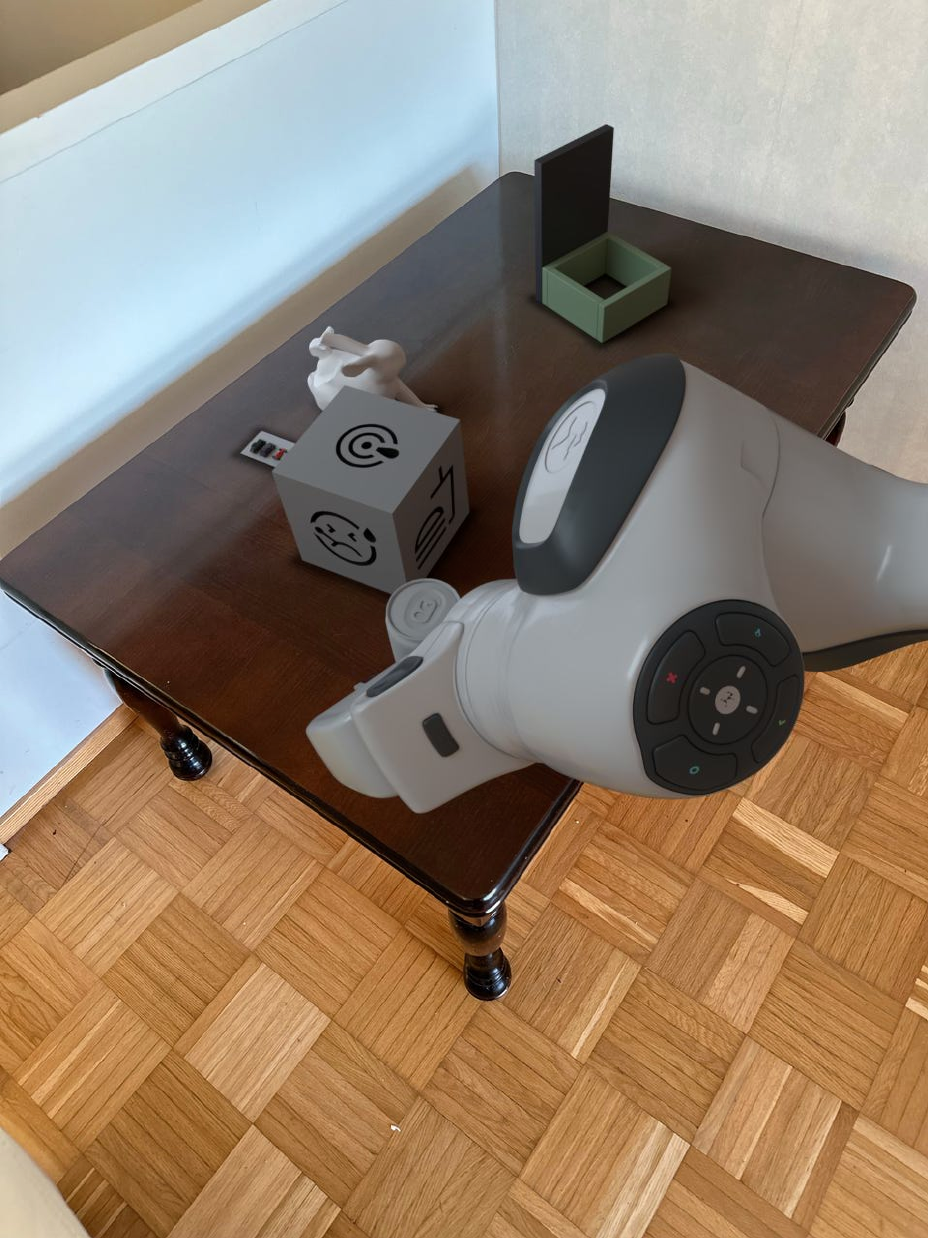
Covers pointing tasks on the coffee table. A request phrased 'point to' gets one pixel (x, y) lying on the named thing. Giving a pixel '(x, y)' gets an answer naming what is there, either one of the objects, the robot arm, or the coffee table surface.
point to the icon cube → (375, 489)
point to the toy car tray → (268, 448)
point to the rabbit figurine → (358, 369)
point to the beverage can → (417, 613)
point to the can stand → (589, 242)
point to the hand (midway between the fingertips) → (428, 650)
